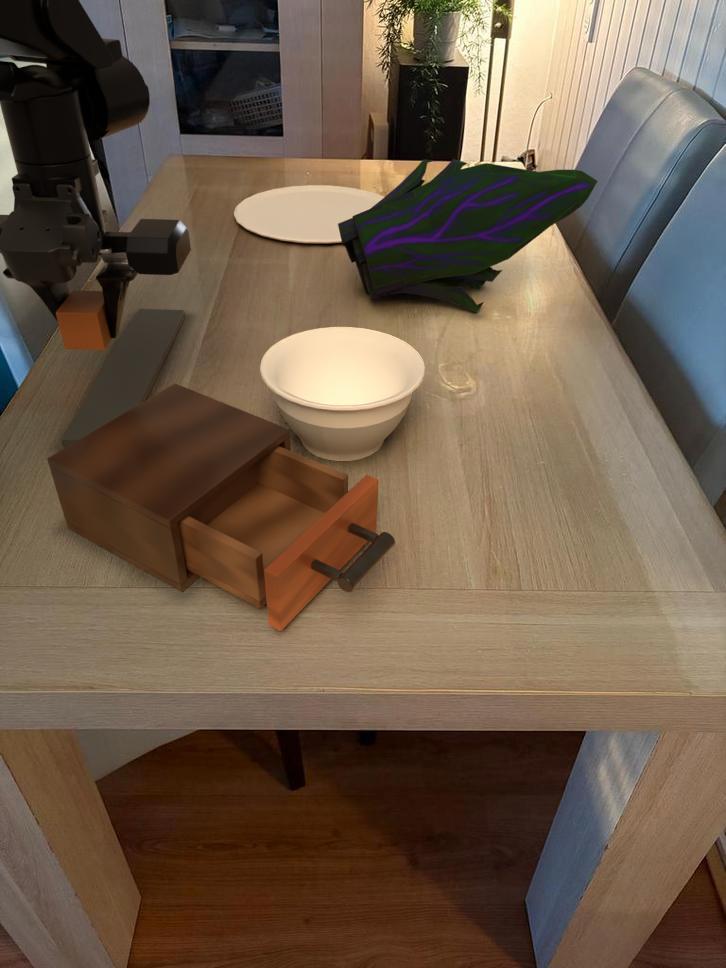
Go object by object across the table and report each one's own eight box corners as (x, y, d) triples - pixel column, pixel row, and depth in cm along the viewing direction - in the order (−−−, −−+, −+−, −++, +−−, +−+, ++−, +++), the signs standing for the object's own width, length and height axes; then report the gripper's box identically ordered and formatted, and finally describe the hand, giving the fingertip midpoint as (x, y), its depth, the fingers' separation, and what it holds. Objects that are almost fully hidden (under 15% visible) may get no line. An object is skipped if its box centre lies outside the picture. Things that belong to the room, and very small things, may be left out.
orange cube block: (105, 351, 66) (96, 313, 64) (64, 349, 66) (55, 312, 64) (119, 327, 70) (112, 291, 67) (81, 326, 70) (72, 289, 67)
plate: (417, 244, 120) (418, 237, 119) (235, 251, 116) (235, 243, 115) (386, 189, 143) (386, 182, 142) (232, 193, 139) (232, 186, 138)
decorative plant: (366, 337, 114) (554, 278, 114) (380, 352, 89) (620, 277, 89) (326, 199, 109) (522, 137, 108) (328, 175, 84) (584, 94, 83)
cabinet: (293, 497, 69) (290, 429, 64) (182, 592, 59) (168, 520, 55) (184, 448, 75) (174, 382, 70) (67, 528, 65) (46, 458, 60)
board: (123, 449, 74) (121, 441, 74) (63, 447, 74) (61, 439, 74) (185, 316, 98) (184, 309, 97) (140, 315, 98) (138, 308, 97)
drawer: (415, 549, 62) (420, 496, 59) (323, 655, 54) (322, 600, 50) (263, 481, 69) (259, 429, 66) (158, 565, 60) (147, 510, 57)
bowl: (451, 442, 77) (459, 369, 71) (332, 505, 68) (332, 428, 63) (350, 381, 86) (351, 312, 81) (234, 430, 77) (227, 357, 72)
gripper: (-121, 182, 52) (-49, 377, 62) (145, 190, 52) (175, 384, 62) (-48, 141, 61) (5, 318, 70) (180, 148, 61) (201, 323, 70)
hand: (93, 335), depth 68 cm, fingers closed on orange cube block, 3 cm apart
